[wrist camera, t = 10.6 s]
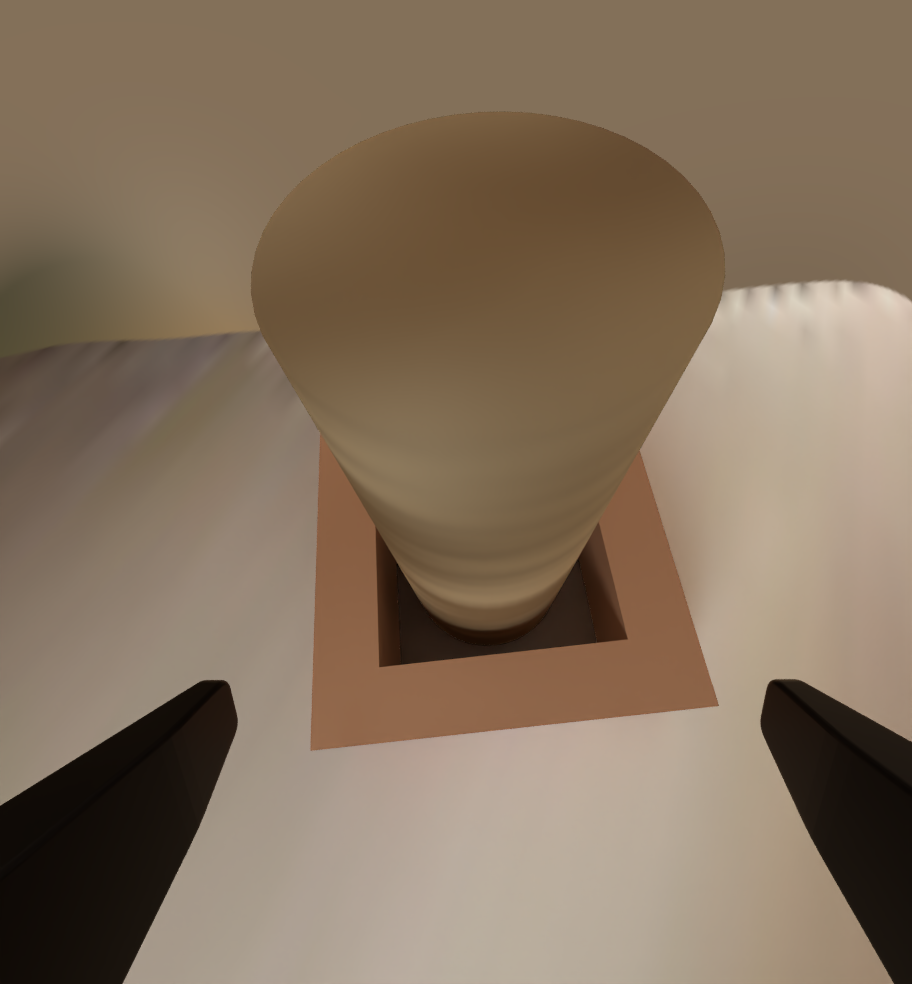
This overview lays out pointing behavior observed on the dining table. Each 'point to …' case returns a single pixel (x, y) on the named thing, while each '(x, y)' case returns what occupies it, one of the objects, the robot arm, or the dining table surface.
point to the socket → (508, 676)
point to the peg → (488, 340)
